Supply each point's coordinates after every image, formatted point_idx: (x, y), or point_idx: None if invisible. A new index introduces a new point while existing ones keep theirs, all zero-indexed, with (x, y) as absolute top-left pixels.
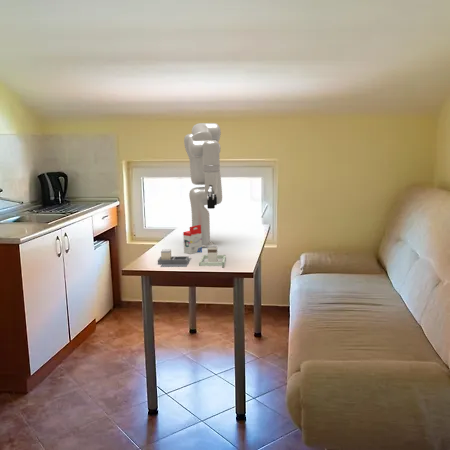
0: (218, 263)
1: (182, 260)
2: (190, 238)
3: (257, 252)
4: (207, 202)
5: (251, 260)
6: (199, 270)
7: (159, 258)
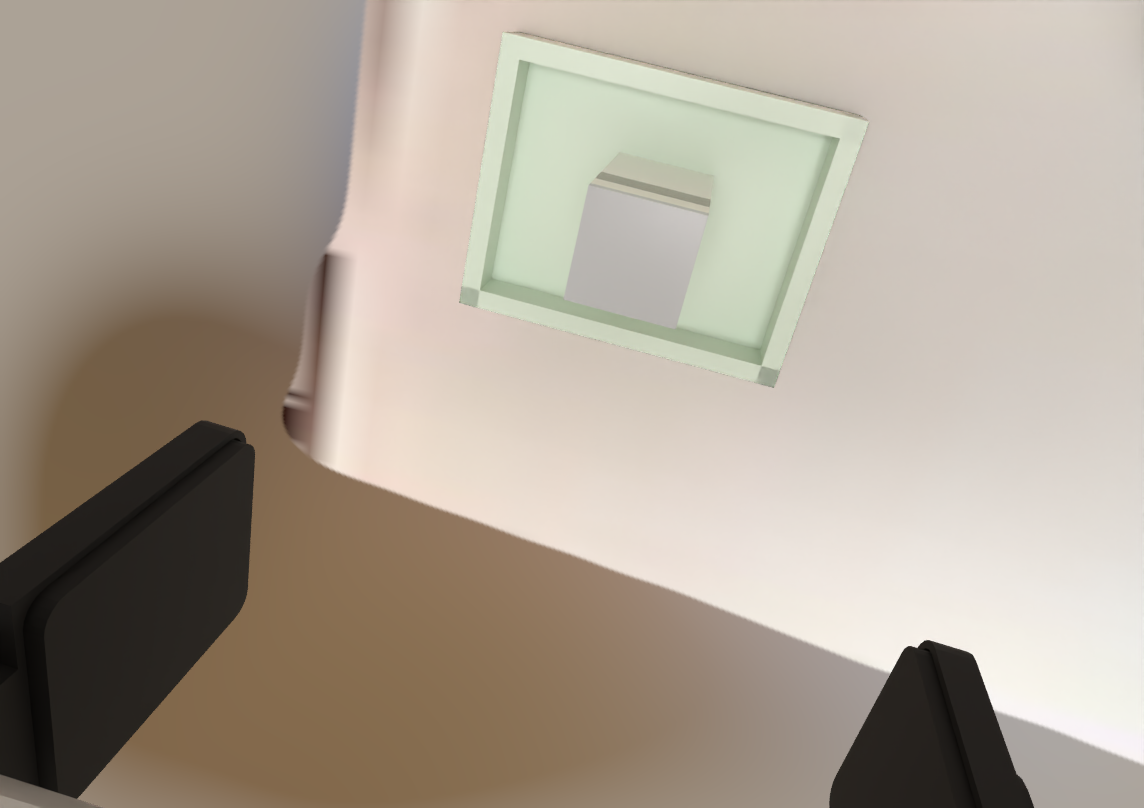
0: (470, 248)
1: None
2: None
3: None
4: (63, 523)
5: (683, 572)
6: (417, 22)
7: None
